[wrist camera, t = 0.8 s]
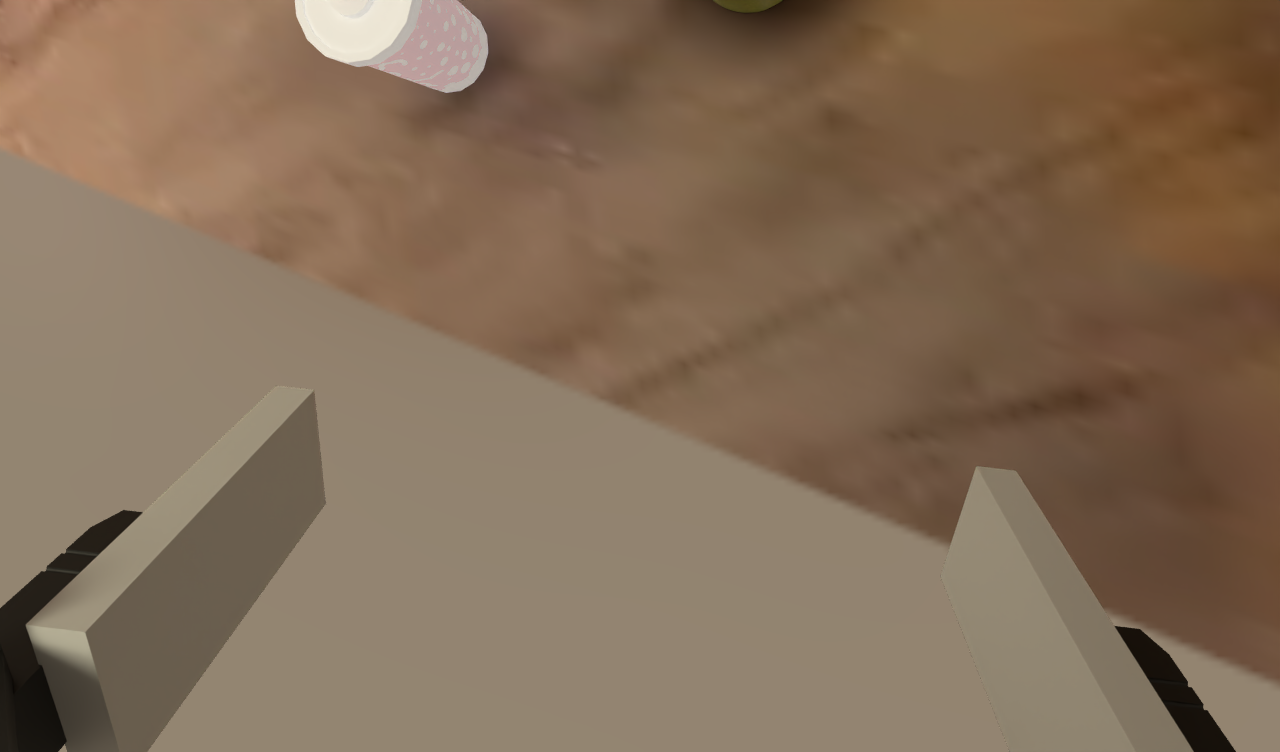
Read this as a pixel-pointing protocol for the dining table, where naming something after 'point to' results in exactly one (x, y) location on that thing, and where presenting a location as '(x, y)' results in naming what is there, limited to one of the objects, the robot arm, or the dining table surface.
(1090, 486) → the dining table surface
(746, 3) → the plant pot
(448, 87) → the beverage cup
